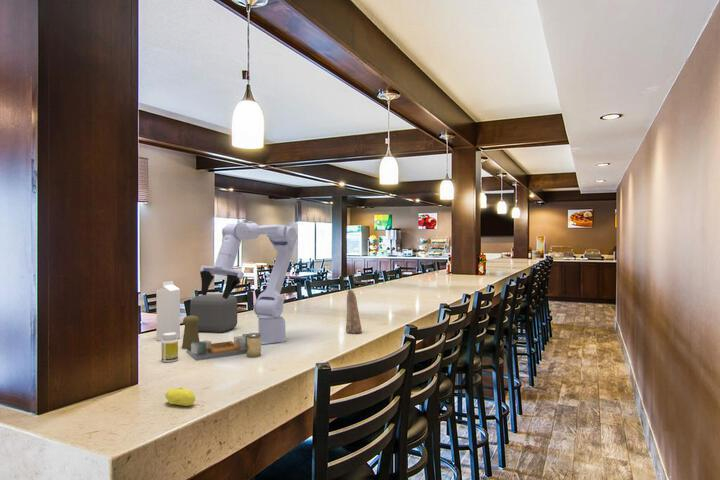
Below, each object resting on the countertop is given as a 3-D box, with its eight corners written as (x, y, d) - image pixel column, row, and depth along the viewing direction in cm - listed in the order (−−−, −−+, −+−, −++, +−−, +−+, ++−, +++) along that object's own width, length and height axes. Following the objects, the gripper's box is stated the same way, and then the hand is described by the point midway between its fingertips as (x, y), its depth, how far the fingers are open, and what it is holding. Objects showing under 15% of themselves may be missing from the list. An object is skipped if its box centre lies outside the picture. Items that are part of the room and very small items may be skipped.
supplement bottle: (181, 359, 146) (181, 332, 146) (170, 363, 141) (170, 335, 141) (169, 358, 147) (169, 331, 147) (158, 361, 143) (158, 334, 143)
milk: (156, 340, 173) (155, 281, 173) (166, 337, 179) (166, 280, 179) (170, 341, 171) (169, 282, 171) (180, 338, 177) (180, 280, 177)
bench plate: (244, 344, 166) (244, 331, 166) (257, 351, 156) (257, 338, 156) (185, 352, 155) (185, 338, 155) (195, 360, 144) (195, 345, 144)
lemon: (186, 410, 102) (185, 393, 102) (160, 405, 106) (160, 388, 106) (200, 404, 106) (200, 387, 106) (175, 399, 110) (174, 382, 110)
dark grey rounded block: (237, 328, 196) (237, 292, 196) (223, 334, 185) (223, 295, 185) (202, 327, 200) (202, 291, 200) (187, 332, 189) (187, 294, 189)
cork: (194, 349, 159) (194, 317, 159) (178, 348, 160) (178, 317, 160) (203, 345, 165) (203, 314, 165) (188, 344, 166) (188, 314, 166)
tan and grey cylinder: (258, 353, 153) (258, 332, 153) (263, 356, 149) (263, 334, 149) (244, 355, 151) (244, 333, 151) (249, 358, 147) (249, 336, 147)
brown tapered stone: (345, 333, 189) (348, 336, 183) (338, 290, 188) (341, 292, 182) (360, 330, 191) (363, 333, 185) (353, 287, 189) (357, 289, 184)
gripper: (201, 249, 151) (187, 289, 146) (242, 255, 147) (229, 296, 143) (211, 257, 157) (198, 295, 152) (250, 263, 154) (238, 302, 149)
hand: (213, 296), depth 148 cm, fingers open, 7 cm apart
